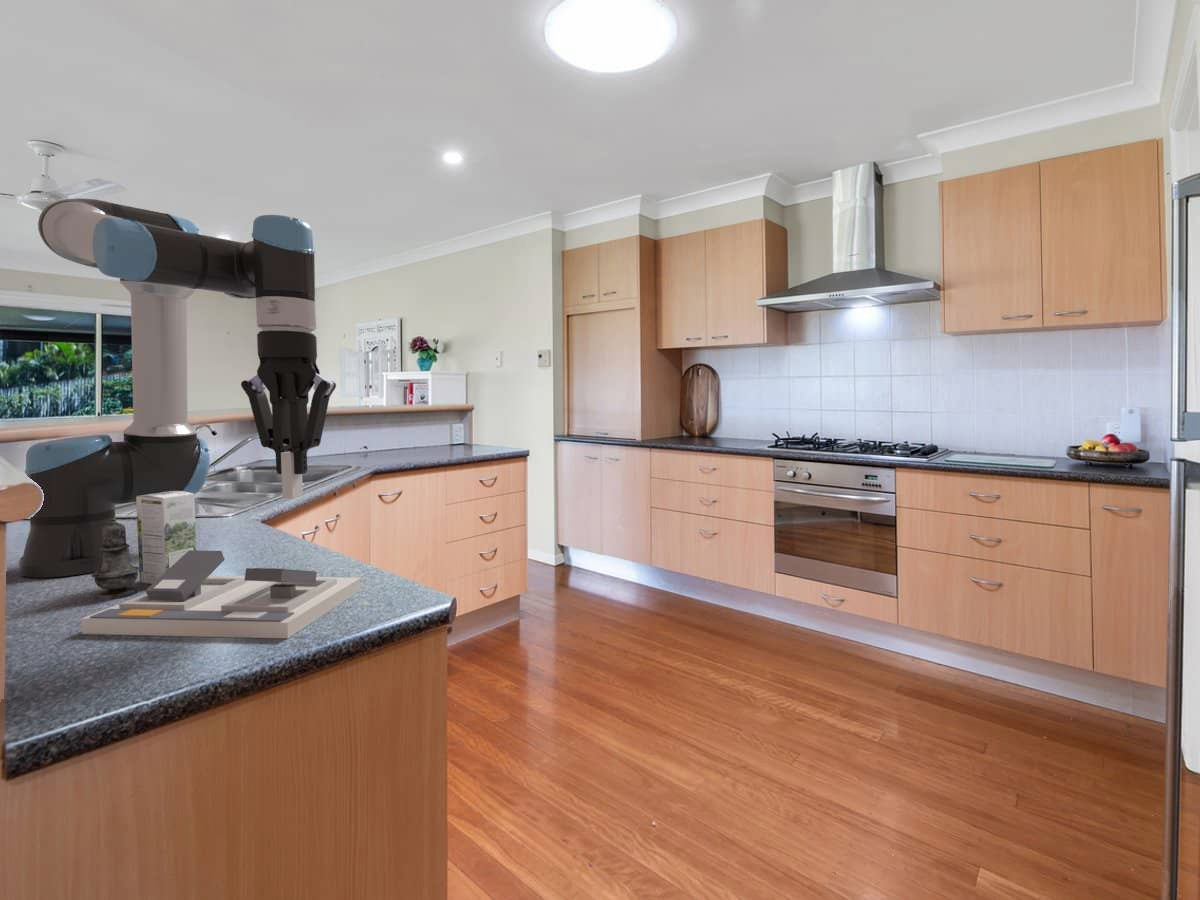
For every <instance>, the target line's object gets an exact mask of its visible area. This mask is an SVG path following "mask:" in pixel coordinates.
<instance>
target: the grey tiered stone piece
mask: <svg viewBox="0 0 1200 900" xmlns="http://www.w3.org/2000/svg"><path fill="white" fill-rule="evenodd" d="M115 518H116V517H115ZM115 518H114V517H112V518H111V523H109V524H107V525H105V526H104V527H103V528H102V541H103V547H101V548H100V550H102V551H103V564H102V568H101V569H100V570H99V571H96V572H92V573H91V577H92V578H94V582H95V584H96V586H97V587H99V588H100V589H102V590H103V591H101V592H99V593H98V594H97V595H96V596H95V600H98V599H100V601H109V600H110V601H111V600H118V599H123V598H129V597H131V596H134V595H136V594H138V593H140V590H139V589H138V588H136V587H132V585H133V584H134V583H135V582H136V581H137V579H138V576H139V574H138V572H139V570H140V568H139V566H133V565H132V564H131V563H130V561H128V553H127V548H128V547H130V544H127V533H126V526H125V525H124V524H122V523H121V522H117V519H115ZM115 520H116V522H115Z"/></svg>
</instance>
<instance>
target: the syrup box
mask: <svg viewBox="0 0 1200 900" xmlns="http://www.w3.org/2000/svg"><path fill="white" fill-rule="evenodd" d="M135 505H136V506H135V507H136V523H137V524H136V526H137V527H136V529H137V543H138V544H137V545H138V546H137V547H138V567H139V568H140V570H139V571H138V572H139V574H138V576H139V582H140V583H141V584H148V585H149V584H150V585H152V584H153V583H154V582H155V581H156V580H157V579H159V578H160V577H161V576H162V575H163V574H164V573H165V572H166V571H167V570H168V569H169V568H170V567H172V566H173V565H174V564H175V563H176V562H177V561H178V560H179V559H180V558H181V557H182V556H183V555H184V554H186V553H187V552H188V551H189V550H193V551H197V541H196V539H197V537H196V533H197V532H196V509H195V508H196V507H195V494H193V493H189V492H183V491H169V492H162V493H155V494H149V495H141V496H137V497H136V502H135Z"/></svg>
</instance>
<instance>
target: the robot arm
mask: <svg viewBox="0 0 1200 900" xmlns="http://www.w3.org/2000/svg"><path fill="white" fill-rule="evenodd" d="M38 217H39V218H38V222H37V227H38V232H39V233H38V234H39V235H40V238H41V239H42V241H43V243H44V245H45V246H47V248H48V249H50V251H51V252H53V253H54V254H56V255H57V256H59V257H60V258H63V259H65V260H68V261H70V262H73V263H76V264H79V265H83V266H86V267H89V268H90V267H91V268H94V269H95V268H96V269H98V270H99V272H100V273H102V274H103V276H107V277H110V278H111V277H112V278H117V279H119V283H120V285H122V286H123V287H124V288H125V289H126V290H127V291H128V292H129V294H130V312H131V313H130V314H131V315H130V317H131V319H130V321H131V324H130V325H131V365H132V366H131V367H132V368H131V371H132V373H131V374H132V410H133V411H132V417H133V418H132V419H133V420H132V421H133V422H132V423H131V424H130V425H129V426H128V427H126V428H125V429H124V430H123V440H122V441H113V438H111V436H110V435H109V434H93V435H85V436H84V435H83V436H74V437H66V438H60V439H59V438H58V439H53V440H46V441H42V442H41V441H40V442H37V443H34V444H32V445H31V446H30V447H29V448H28V449H27V451H26V454H25V469H24V475H26V477H27V476H28V477H29V478H30V479H32V480H33V481H34V482H36V483H37V484H38V485H39V486H40V487H41V489H42V490H43V493H44V501H43V505H42V507H41V509H40V510H39V511H38V512H37V513H36V514H35V515H34V516H33V517H31V518H30V517H29V524H30V526H29V533H28V535H27V538H26V543H25V546H24V551H23V556H21V557H20V559H19V561H18V571H19V575H20V574H21V575H23V576H22V577H24V576H26V578H33V579H34V578H36V579H38V578H39V579H40V578H41V579H42V578H58V577H59V578H60V577H69V576H75V575H76V576H77V575H83V574H90V573H91V574H92V573H95V572H97V571H99V570H100V569H101V568H102V564H103V551H102V550H100V548H101V547H103V541H102V528H103V527H104V526H105V525H107V524H109V523H111V518H112V517H114V518H115V519H116V518H117V517H116V505H121V504H129V503H136V497H137V496H141V495H149V494H155V493H162V492H169V491H183V492H189V493H193V494H194V495H196V494H197V493H199V492H200V491H201V489H202V488H203V487H204V486H205V484H206V482H207V478H208V476H209V471H210V465H211V463H210V462H211V459H210V458H211V457H210V453H209V447H208V443H206V441H205V440H204V439H202V438H200V437H198V432H197V430H196V429H195V428H194V427H193V426H192V425H190V424H189V421H188V420H189V419H188V338H187V337H188V334H187V333H188V331H187V329H188V327H187V326H188V325H187V323H188V321H187V320H188V319H187V317H188V316H187V300H188V298H189V297H190V296H192V295H193V294H194V293H196V291H197V290H201V291H202V290H203V291H210V292H219V293H224V294H225V295H227V296H229V297H231V298H235V299H248V300H250V299H251V300H252V299H253V300H254V299H255V307H256V309H255V310H256V327H258V328H259V329H261V330H260V331H259V332H258V333H257V334H256V339H257V340H256V344H257V345H256V347H257V356H258V358H259V365H258V367H257V370H256V373H257V374H256V375H255V376H253V377H252V378H250V379H249V380H246V379H245V380H242V381H241V382H240V386H241V388H242V390H243V391H244V393H245V394H246V396H247V397H248V401H249V405H250V408H251V412H252V415H253V419H254V422H255V426H256V430H257V433H258V438H259V441H260V445H261V446H262V447H263V448H268V449H271V450H272V451H274V453H275V466H276V467H275V471H276V473H277V475H281V494H282V495H281V497H282V499H295V498H299V497H303V496H304V491H303V490H304V489H303V475H304V474H307V473H308V452H309V450H310V449H313V448H316V447H319V446H320V445H321V442H322V436H323V432H324V426H325V421H326V418H327V412H328V406H329V402H330V398H331V395H332V394H333V392H334V391H335V390H336V387H337V384H336V382H335V381H334V380H328V379H327V378H325V377H323V375H320V374H321V373H320V369H319V367H318V365H317V359H318V348H317V347H318V344H317V343H318V342H317V336H316V335H315V333H312V332H314V331H316V330H317V316H316V301H315V300H316V283H315V281H316V280H315V278H316V275H315V274H316V273H315V270H316V269H315V266H316V265H315V254H316V249H314V239H313V230H312V229H313V228H312V226H310V224H308V223H307V222H306V221H304V220H302V219H299V218H296V217H292V216H287V215H281V214H279V215H278V214H262V215H259V216H257V217H255V218H254V220H253V225H252V233H251V238H252V240H251V241H247V242H241V241H236V240H230V239H225V238H220V237H216V236H215V237H214V236H210V235H205V234H203V233H202V232H201V230H200V228H199V227H198V226H197V225H196V224H195V223H194V222H193V221H191V220H189V219H186V218H183V217H180V216H175V215H172V214H170V213H163V212H159V211H154V210H148V209H144V208H139V207H133V206H128V205H124V204H118V203H114V202H110V201H105V200H100V199H94V198H68V199H67V198H66V199H61V200H58V201H54V202H52V203H50V204H49V205H48V206H46V207H45V208H44V209H43V210H42V211H41V213H40V214H39V216H38ZM312 388H313V390H314V392H313V394H312V396H311V397H312V399H311V403H310V408H309V412H308V404H309V398H310V397H309V393H310V392H311V390H312ZM265 390H267V391H268V392H269V400H268V396H267V393H266V391H265ZM269 402H270V404H271V407H270V404H269ZM115 522H117V519H116V520H115ZM129 547H130V546H129ZM129 547H128V548H127V553H128V561H129V562H130V560H131V558H130V557H131V555H130V548H129ZM21 575H20V576H21Z"/></svg>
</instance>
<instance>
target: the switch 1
mask: <svg viewBox="0 0 1200 900" xmlns="http://www.w3.org/2000/svg"><path fill="white" fill-rule="evenodd" d="M224 561H225V557H224V555H223V551H222V550H196V551H193V550H189V551H188V552H187V553H186V554H184V555H183V556H182V557H181V558H180V559H179V560H178V561H177V562H176V563H175V564H174V565H173V566H172V567H170V568H169V569H168V570H167V571H166V572H165V573H164V574H163V575H162V576H161V577H160V578H159V579H157V580H156V581H155V582H154V583H153V584H150V586H148V588H146V590H145V592H146V593H147V595H148V597H149V599H150V600H184V601H185V600H186V599H187V598H188V597H189V596H190V595H191V594H192V593H193V592H194V591H195V590H196V589H197V588H198V587H199V585H200V584H201V583H202V582H203V581H204V580H205V579H206V578H207V577H208V576H209V575H210V576H211V574H212V573H213V572H214V571H215V570H216V569H217V568H218V567H219V566H220V565H221V564H222V563H223V562H224ZM146 593H145V594H146Z"/></svg>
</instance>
